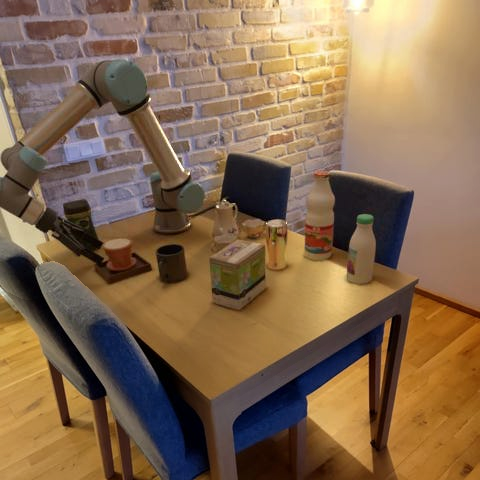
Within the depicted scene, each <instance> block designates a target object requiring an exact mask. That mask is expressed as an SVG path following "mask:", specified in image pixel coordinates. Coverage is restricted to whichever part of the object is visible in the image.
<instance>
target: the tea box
mask: <svg viewBox="0 0 480 480" xmlns="http://www.w3.org/2000/svg"><path fill="white" fill-rule="evenodd" d="M208 259H209V260H208V261H209V273H210V286H211V287H210V288H211V300H212V303H214V304H216V305H220V306H223V307H226V308H230V309H234V310H238V311H241V309H242V308H244V307H245V306H246V305H247V304H248V303H250V302H251V301H253V299H255V298H256V297H257V296H258V295H259V294H260V293H262V292H263V291H264V290H265V289H266V287H267V286H266V245H265V244H264V243H258V242H254V241H249V240H243V239H239V238H238V239H237V240H236V241H234V242H233V243H231V244H229V245H228V246H226V247H225V248H223V249H222V250H220V251H219V250H218V251H216V252H214V254H212V255H210V256H209V258H208Z"/></svg>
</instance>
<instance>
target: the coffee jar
mask: <svg viewBox="0 0 480 480" xmlns="http://www.w3.org/2000/svg"><path fill="white" fill-rule="evenodd" d="M62 208H63V215H64V217H65V218H66V220H68V221H70V222H72V223H75V224H77V225H79V226H81V227H83V228H86V229H87V231H86V232H87V233H89V234H91V235H92V236H94V237H95V238H97V239H99V236H98V233H97V231H96V229H95V226H94V222H93V220H92V208H91V206H90V204H89V201H88V200H87V199H85V198H81V199H77V200H72V201H67V202H63V203H62ZM71 235H72V234H71ZM72 236H73V237H74V238H75V239H76V240H77V241H78V242H79V243H80V244H81V245H82V246H83V247H84V248H85V247H87V248H88V249H90V250H92V251H94V250H98V248H96V247H94V246H93V245H91V244H89V243H88V242H86V241H85V240H83V239H82V237H79V236H75V235H72Z"/></svg>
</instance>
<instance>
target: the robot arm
mask: <svg viewBox="0 0 480 480" xmlns="http://www.w3.org/2000/svg"><path fill="white" fill-rule="evenodd" d="M148 87H149V83H148V79H147V76H146V74H145V73H144V71H143V70H142V68H141V67H140V66H138V64H136V63H135V62H132V61H130V60H127V59H113V60H112V59H111V60H110V59H105V60H101V61H99V62H98V63H96V64H95V65H94V66H92V68H91V69H89V70H88V71H87V72H86V73H85V74H84V75H83V76H82V77H81V78H80V79H79V80H78V81H77V82H76V83H75V89H73V90H72V91H71V92H70V93H69V94H68V95H67V96H66V97H65V98H64V99H63V100H62V101H60V103H58V104H57V105H56V106H55V107H54V108H53V109H52V110H50V111H49V112H48V113H47V114H45V116H44V117H43V118H42V119H40V121H39V122H37V124H35V125H34V126H33V127H32V128H31V129H30V130H29V131H28V132H27V133H25V135H23V136H22V137H21V138H20V139H19V140H18V141H16V142H15V143H14V144H13V145H12V146H11V147H6V148H5V149H3V150H2V151H1V153H0V163H1V165H2V167H3V168H4V169H5V170H6V173H5V174H4V176H3V177H2V176H0V209H2V210H4V211H6V212H7V213H9V214H11V215H13V216H14V217H16V218H18V219H20V220H21V221H22V222H23V223H24V224H25V223H27V224H28V225H30V226H34V228H35V229H36V230H38V231H40V232H42V233H43V234H47V233H48V232H49V231H51V232H52V234H51V237H52V238H54V239H55V240H57V241H58V242H60V243H61V244H62V245H63V246H65V247H66V248H67V249H68V250H69V251H71V252H72V253H73V254H74V255H75V256H77V257H78V258H80V257H81V256H82V257H84V258H86V259H87V260H89V261H91V262H93V263H94V264H98V265H100V264H101V263H102V262H103V261H105V257H103V256H102V255H100V254H99V253H97V252H96V251H94V250H90V249H88V248H87V247H85V248H84V247H83V246H82V245H81V244H80V243H79V242H78V241H77V240H76V239H75V238H74V237H73V236H72V235H75V236H79V237H82V239H83V240H85V241H86V242H88V243H89V244H91V245H93V246H94V247H96V248H97V250H100V249H101V248H102V247H103V244H104V241H103V240H100V238H98V239H97V238H95V237H94V236H92V235H91V234H89V233H87V232H86V231H87V229H86V228H83V227H81V226H79V225H77V224H75V223H72V222H70V221H68V220H67V219H65V218H63V217H62V216H60V215H59V213H58V212H57V211H55V210H54V209H52V208H50V207H46V204H45V203H43V202H41V201H40V200H38V199H37V198H35V197H33V196H32V195H29V193H30V191H31V190H32V189H33V187H34V186H35V184H36V182H37V181H38V180H39V178H40V176H41V175H42V174H43V173H44V171H45V168H46V166H47V165H48V160H47V158H46V157H45V155H46V154H47V153H48V152H49V151H50V150H51V149H52V148H53V147H55V146H56V145H57V144H58V143H59V142H60V141H61V140H62V139H63V138H64V137H66V135H68V134H69V133H70V132H71V131H72V130H73V129H74V128H75V127H76V126H77V125H79V123H81V122H82V121H83V120H84V119H85V118H86V117H87V116H88V115H89V114H90V113H91V112H92V111H94V110H95V111H96V110H97V111H99V110H100V109H101V108H102V107H103V106H105V105H106V104H108V103H111V105H112V106H113V107H114V109H115V111H116V112H117V114H118V116H119V117H121V118H125V119H126V121H127V122H128V124H129V126H130V127H131V129H132V131H133V132H134V134H135V136H136V138H137V139H138V141H139V143H140V144H141V146H142V148H143V149H144V151H145V153H146V155H147V156H148V158H149V160H150V161H151V163H152V165H153V167H154V169H155V170H156V171H155V172H153V173H151V174H150V176H149V180H150V183H149V184H150V188H151V193H152V198H153V205H154V219H153V231H154V232H155V233H157V234H159V235H177V234H180V233H183V232H186V231H188V230H189V229H190V228H191V227H192V226H191V220H190V218H192V217H196V216H199V215H200V214H203V213H204V212H206V211H209V210H211V209H213V208H216V205H218V204H220V203H221V202H219V203H217V204H214V205H212V206H209V207H206V208H204V209H202V210H200V209H201V208H202V207H203V205H204V201H205V199H206V193H205V188H204V187H203V186H202V185H201V184H200V183H199V182H197V181H195V180H194V178H193V176H192V174H191V172H190V170H189V169H188V168H184V167H183V166H182V164H181V162H180V160H179V158H178V156H177V155H176V153H175V151H174V148H173V147H172V145H171V143H170V142H169V140H168V137H167V136H166V134H165V131H164V130H163V128H162V126H161V124H160V123H159V121H158V119H157V117H156V115H155V113H154V111H153V110H152V107H151V106H150V102H151V99H152V98H151V96H150V94H149V91H148ZM224 199H225V200H226V201H227V200H230V197H229V196H225V197H224ZM198 211H199V212H198ZM71 234H72V235H71Z"/></svg>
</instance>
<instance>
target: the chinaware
mask: <svg viewBox="0 0 480 480" xmlns="http://www.w3.org/2000/svg"><path fill="white" fill-rule="evenodd" d="M219 203H220V204H219ZM219 203H217V204H218V205H217V204H215V205H216V207H215V208H216V210H213V211H212V213H213V214H214V218H213V227H212V235H211V236H212V238H213V240H212V241H213V243H212V244H211V246H210V249H211V251H212V252H213V253H217V252H219V251H220V250H222V249H223V248H225V247H226V246H228V245H229V244H231V243H233V242H234V241H236V240H237V239H239V237H240V235H241V233H242V231H241V228H240V227H239V226H238V225H237V222H238V220H237V217H238V213H239V209H238V205H237V204H236V203H230V202H229V201H227V199H226V200H225V197H224V198H222V200H221V201H220V202H219ZM233 207H234V208H235V212H234V215H233ZM241 225H242V226H243V228H244V230H245V232H246V233H247V234H248V235H249V238H254V239H255V238H259V235H260V234H261V233H262V231H263V228H264V225H266V221H264V220H262V219H260V218H254V219H246V220H245V221H244V222H242V223H241ZM213 246H216V248H217V249H216V250H213Z"/></svg>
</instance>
